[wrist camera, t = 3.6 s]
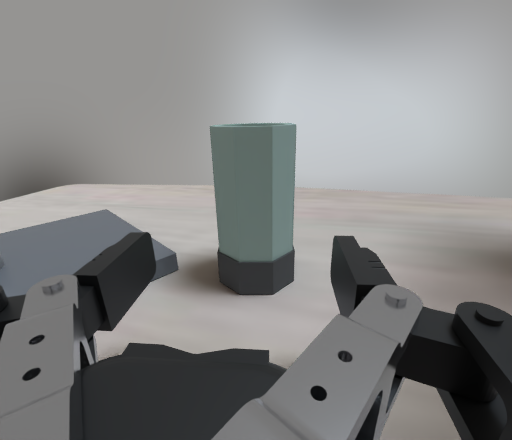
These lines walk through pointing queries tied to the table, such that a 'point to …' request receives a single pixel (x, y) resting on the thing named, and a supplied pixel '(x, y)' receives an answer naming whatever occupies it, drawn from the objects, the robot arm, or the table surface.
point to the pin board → (66, 249)
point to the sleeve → (254, 204)
